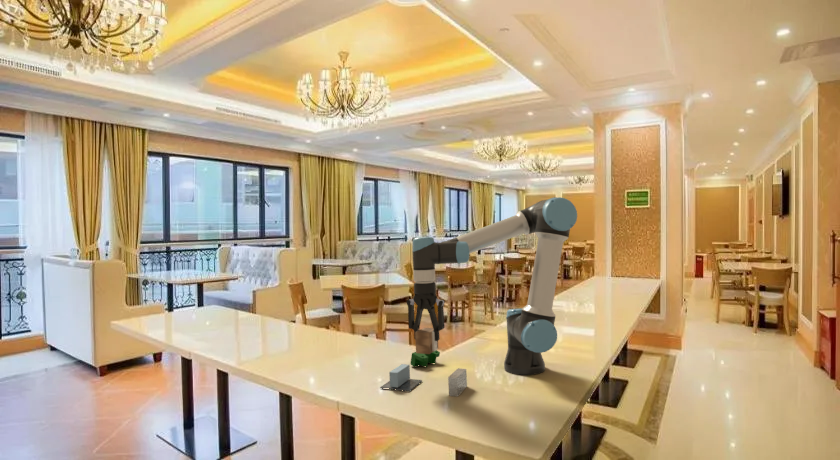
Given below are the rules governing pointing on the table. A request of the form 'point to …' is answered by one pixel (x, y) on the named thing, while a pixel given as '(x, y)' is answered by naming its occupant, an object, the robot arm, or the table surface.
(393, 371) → the blue-gray rectangular block
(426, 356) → the clamp
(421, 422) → the table surface
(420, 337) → the block
